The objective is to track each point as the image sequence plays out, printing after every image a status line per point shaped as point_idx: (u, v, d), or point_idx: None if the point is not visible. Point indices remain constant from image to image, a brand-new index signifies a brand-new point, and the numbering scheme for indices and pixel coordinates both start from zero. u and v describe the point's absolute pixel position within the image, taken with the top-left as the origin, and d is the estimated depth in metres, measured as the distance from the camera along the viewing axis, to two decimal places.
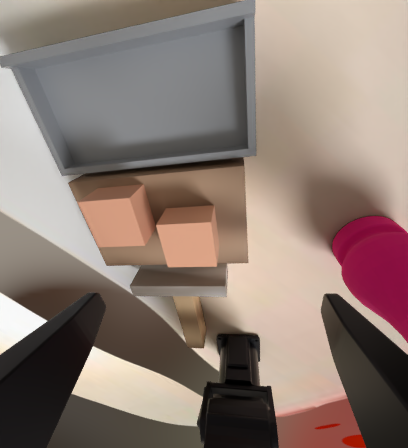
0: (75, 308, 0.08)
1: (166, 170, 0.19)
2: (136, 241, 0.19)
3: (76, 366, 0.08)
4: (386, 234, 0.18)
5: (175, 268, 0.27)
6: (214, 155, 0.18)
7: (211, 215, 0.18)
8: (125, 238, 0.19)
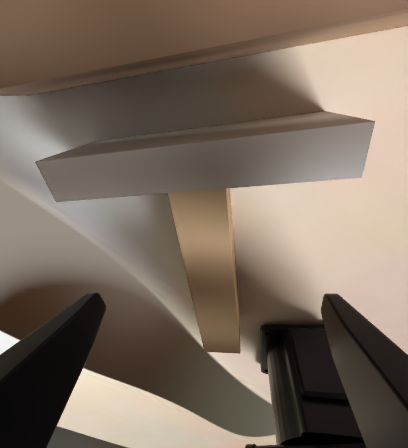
0: (75, 308, 0.08)
1: None
2: None
3: (76, 366, 0.08)
4: None
5: (179, 133, 0.10)
6: None
7: None
8: None
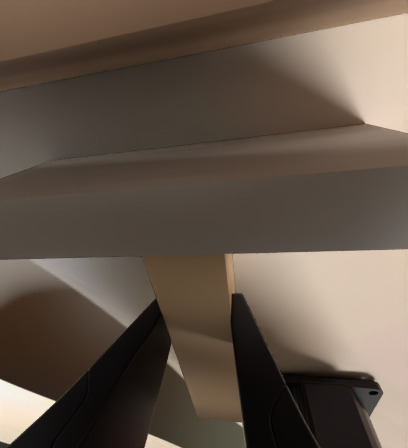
0: (156, 310, 0.08)
1: None
2: None
3: (159, 372, 0.07)
4: None
5: (157, 154, 0.07)
6: None
7: None
8: None
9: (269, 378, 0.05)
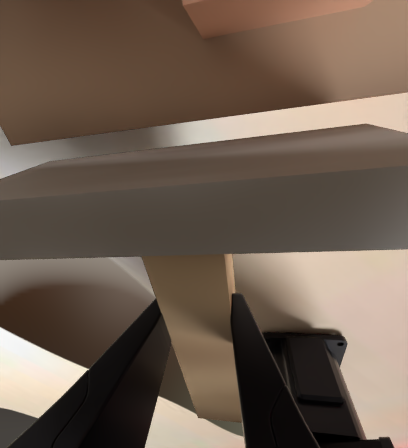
0: (156, 310, 0.08)
1: None
2: None
3: (159, 372, 0.07)
4: None
5: (157, 155, 0.07)
6: None
7: None
8: None
9: (269, 378, 0.05)
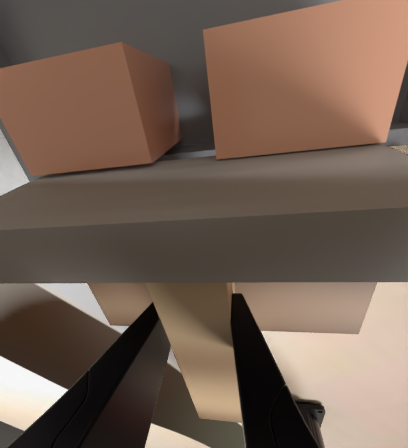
0: None
1: None
2: None
3: (159, 372, 0.07)
4: None
5: (156, 171, 0.07)
6: None
7: None
8: None
9: (269, 378, 0.05)
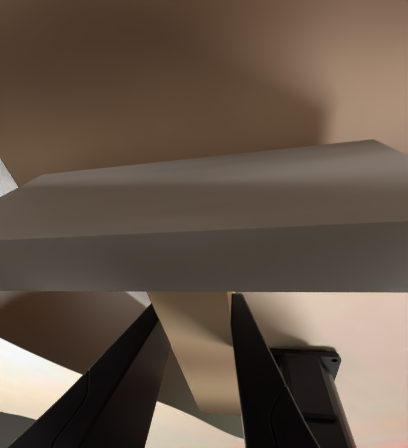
0: None
1: None
2: None
3: (159, 372, 0.07)
4: None
5: (154, 174, 0.06)
6: None
7: None
8: None
9: (269, 378, 0.05)
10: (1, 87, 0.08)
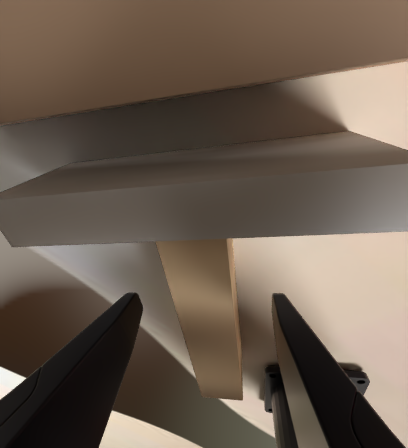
0: (118, 309, 0.08)
1: None
2: None
3: (120, 369, 0.08)
4: None
5: (168, 157, 0.08)
6: None
7: None
8: None
9: (338, 383, 0.05)
10: None
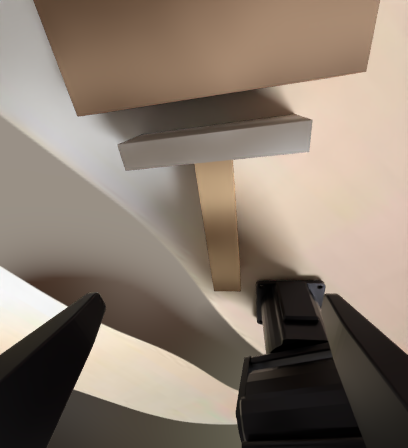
0: (75, 308, 0.08)
1: None
2: None
3: (76, 366, 0.08)
4: None
5: (201, 128, 0.15)
6: None
7: None
8: None
9: None
10: (71, 14, 0.11)
